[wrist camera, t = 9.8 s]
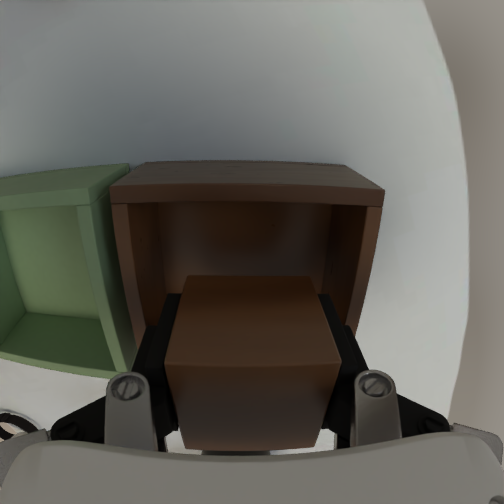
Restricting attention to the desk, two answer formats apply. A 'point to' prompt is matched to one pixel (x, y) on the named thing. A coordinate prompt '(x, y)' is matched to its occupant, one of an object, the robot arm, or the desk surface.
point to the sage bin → (63, 273)
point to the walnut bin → (244, 229)
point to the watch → (18, 422)
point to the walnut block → (250, 363)
